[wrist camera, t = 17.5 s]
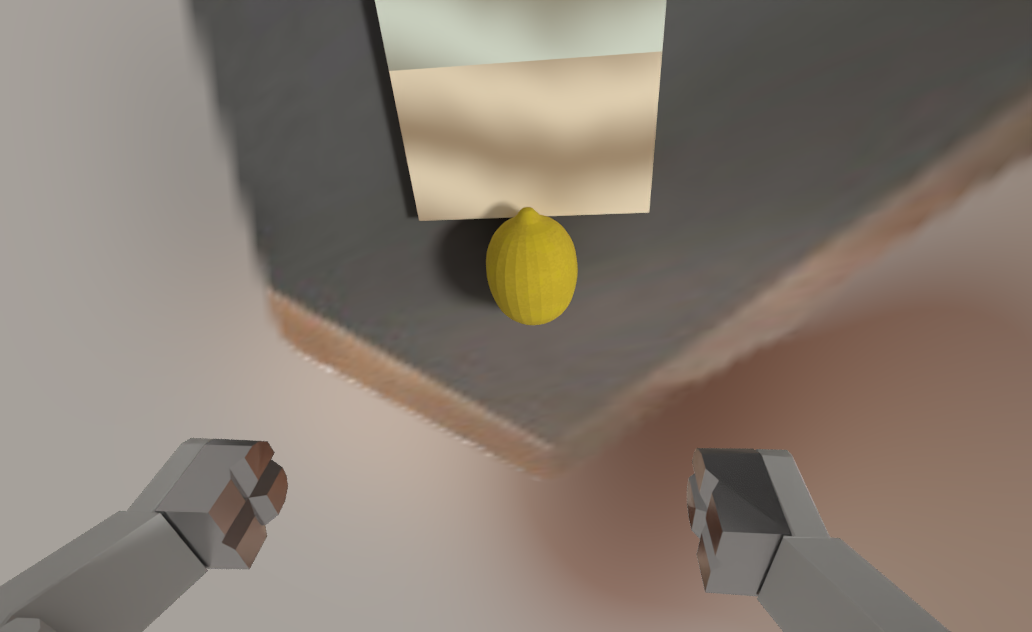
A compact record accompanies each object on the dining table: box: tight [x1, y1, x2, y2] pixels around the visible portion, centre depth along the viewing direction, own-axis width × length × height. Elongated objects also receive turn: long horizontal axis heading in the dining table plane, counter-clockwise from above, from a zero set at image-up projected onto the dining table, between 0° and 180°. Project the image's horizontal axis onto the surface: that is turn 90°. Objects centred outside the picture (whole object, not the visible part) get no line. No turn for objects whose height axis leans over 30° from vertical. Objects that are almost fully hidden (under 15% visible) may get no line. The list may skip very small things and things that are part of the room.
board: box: [375, 0, 666, 221], centre depth 26 cm, size 17×14×1 cm
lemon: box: [486, 207, 578, 325], centre depth 30 cm, size 6×6×8 cm
